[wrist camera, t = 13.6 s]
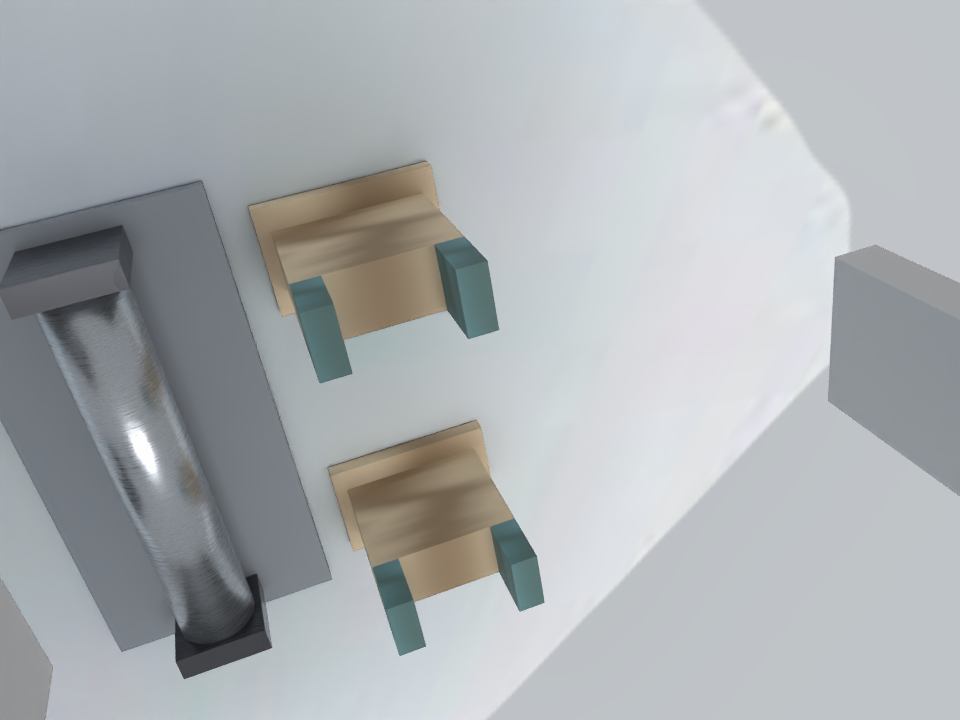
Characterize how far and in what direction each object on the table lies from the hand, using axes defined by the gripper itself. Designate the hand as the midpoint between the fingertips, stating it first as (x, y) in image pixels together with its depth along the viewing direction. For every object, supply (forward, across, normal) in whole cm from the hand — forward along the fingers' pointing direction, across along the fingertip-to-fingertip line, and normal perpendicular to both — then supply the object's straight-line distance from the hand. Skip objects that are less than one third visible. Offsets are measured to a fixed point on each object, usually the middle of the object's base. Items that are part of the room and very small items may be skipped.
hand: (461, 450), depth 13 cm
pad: (+27, -9, -13) cm, 31 cm away
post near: (+27, +2, -6) cm, 27 cm away
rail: (+26, -9, -13) cm, 31 cm away
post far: (+27, +2, -20) cm, 33 cm away
